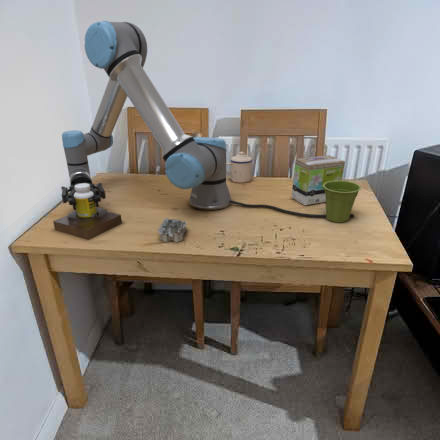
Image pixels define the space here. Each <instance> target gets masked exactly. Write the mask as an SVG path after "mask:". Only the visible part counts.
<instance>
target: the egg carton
mask: <svg viewBox="0 0 440 440" xmlns="http://www.w3.org/2000/svg"><path fill="white" fill-rule="evenodd" d="M186 226H187V221H186V220H183V221H181V219H173V218H171V219H170V218H168V217H165V218H164V219H163V222H162V223H161V224H160V226H159V228H158V229H157V231H158V234H159V239H160V241H162V242H164V243H167V242H169V241H174V243H178V242H181V241H183V239H184V236H185V233H186V231H187V230H186Z"/></svg>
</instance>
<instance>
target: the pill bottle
mask: <svg viewBox="0 0 440 440" xmlns="http://www.w3.org/2000/svg"><path fill="white" fill-rule="evenodd" d="M75 191H76V192H75V193H74V200H75V205H76V210H77V215H78V218H80V219H89V218H94V217H96V216H97V210H96V208H97V207H96V203H95V198H94V193H93V192H92V191H90V185H89V184H87V183H81V184H77V185H75Z"/></svg>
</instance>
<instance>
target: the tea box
mask: <svg viewBox="0 0 440 440" xmlns="http://www.w3.org/2000/svg"><path fill="white" fill-rule="evenodd" d="M294 162H295V163H294V170H293V171H294V172H293V179H292V186H291V187H292V189H291V198H292V199H293V200H295V201H297V202H298V203H300V204H302V205H304V206H309V205H315V204H321V203H326V196H325V188H324V187H323V184H324V183H326V182H329V181H337V180H338V181H343V178H344V171H345V165H346V161H345V160H342V159H340V158H338V157H335V156H332V155H330V154H329V155H318V156H311V157H302V158H296V159H295V161H294Z"/></svg>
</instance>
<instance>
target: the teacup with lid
mask: <svg viewBox="0 0 440 440" xmlns="http://www.w3.org/2000/svg"><path fill="white" fill-rule="evenodd" d="M252 163H253V158H252V157H251V156H249V155H248V154H245V152H244V151H239V152H238V154H236V155H233V156H232V157H231V158H230V162H226V166H230V172H228V171H227V170H226V175H228V176H230V180H231V182H233V183H237V184H246V183H249V182H251V181H252V168H253V167H252Z"/></svg>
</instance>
